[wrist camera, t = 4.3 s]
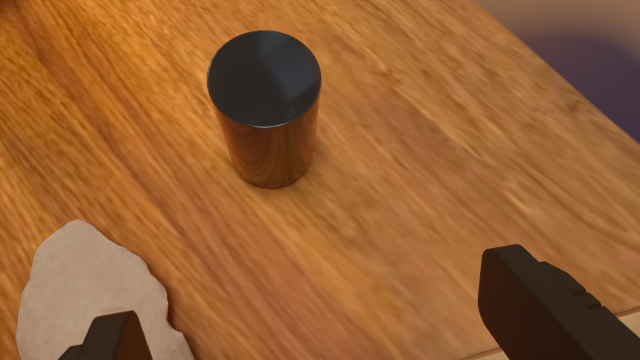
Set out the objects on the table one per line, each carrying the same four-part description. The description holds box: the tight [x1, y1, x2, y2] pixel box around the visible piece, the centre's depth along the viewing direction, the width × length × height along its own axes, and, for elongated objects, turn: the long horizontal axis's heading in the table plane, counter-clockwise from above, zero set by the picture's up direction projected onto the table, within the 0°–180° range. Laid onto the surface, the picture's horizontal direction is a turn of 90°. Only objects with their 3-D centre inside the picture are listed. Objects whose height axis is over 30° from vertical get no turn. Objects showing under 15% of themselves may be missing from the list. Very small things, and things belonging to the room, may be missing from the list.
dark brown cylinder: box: [207, 30, 321, 189], centre depth 23 cm, size 5×5×8 cm
